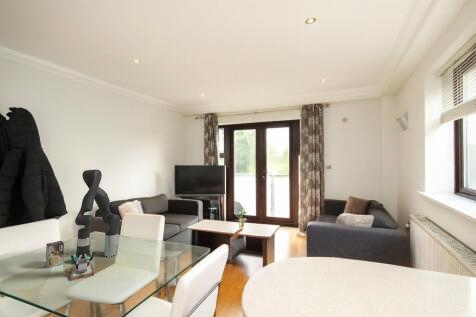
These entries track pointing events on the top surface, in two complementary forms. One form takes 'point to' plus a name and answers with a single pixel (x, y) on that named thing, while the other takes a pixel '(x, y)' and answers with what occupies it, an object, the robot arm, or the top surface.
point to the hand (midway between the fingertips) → (82, 267)
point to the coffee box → (54, 254)
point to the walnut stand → (81, 273)
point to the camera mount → (76, 256)
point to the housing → (82, 265)
